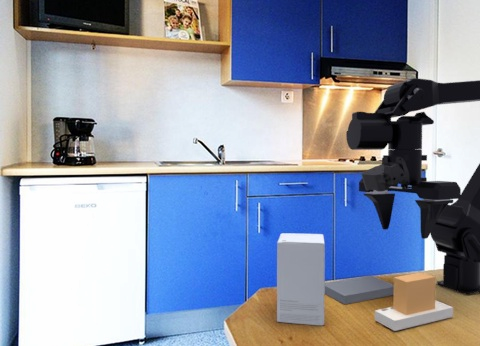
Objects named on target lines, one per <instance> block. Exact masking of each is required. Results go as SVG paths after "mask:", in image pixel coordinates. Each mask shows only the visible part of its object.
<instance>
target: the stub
mask: <svg viewBox="0 0 480 346" xmlns="http://www.w3.org/2000/svg"><path fill="white" fill-rule="evenodd" d="M436 281H437V279H436V276H434V275H432V274H428V273H425V272H416V273H411V274H405V275H399V276H395V277H394V276H393V285H394V295H393V298H392V299H393V301H392V302H393V306H389V307H386V308H380V309H376V310H374V321H376V322H378V323H379V324H381V325H383V326H385V327H386V328H389V329H391V330H392V331H394V332H395V331H400V330H404V329H409V328H413V327H416V326H421V325H425V324H429V323H433V322H436V321H442V320H445V319H450V318H453V316H454V306H450V305H448V304H445V303H443V302H441V301H438V300H437V299H436V285H437V282H436Z"/></svg>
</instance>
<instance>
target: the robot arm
mask: <svg viewBox="0 0 480 346" xmlns="http://www.w3.org/2000/svg"><path fill="white" fill-rule="evenodd" d="M473 102H475V103H476V102H480V80H466V81H454V82H452V81H451V82H437V81H434V80H432V79H426V78H425V79H424V78H418V77H417V78H416V77H415V78H413V77H412V78H409V79H406V80H403V81H400V82H398V83H395V84H391V85H390V86H388V87H387V88H386V91H385V92H384V95H383V100H382V101H381V102H380V104H379V105H378V107H377V108H376V109H375V111H374V112H367V111H366V112H365V111H356V112H352V114H351V120H350V122H349V124H348V127H347V131H346V135H345V136H346V143H347V146H348V148H349V149H350V150H352V151H353V150H354V151H357V150H359V151H361V150H363V151H367V150H368V151H369V150H370V151H373V150H374V151H376V150H378V151H380V150H381V151H383V150H384V149H386V148H387V146H388V148H387V150H388V151H387V154H386V155H382V157H381V164H379V165H376V166H374V167H371V168H369V169H367V170H365V171H363V172H362V173H361V174H360V175H361V179H360V181H358V192H361V193H362V192H363V193H362V194H363V195H364V196H363V197H367V198H368V199H369V200H370V201H371V202H372V203H373V206H374V207H375V211H376V213H377V216H378V219H379V222H380V225H381V228H382V230H384V231H385V230H388V229H389V228H390V224H391V220H392V219H391V218H392V214H393V209H394V203H395V196H396V193H394V192H399V193H410V194H416V195H417V196H418V198H419V199H414V201H415V203H416V205H417V206H418V208H419V210H420V235H421V239H428V238H429V236H430V237H431V239H432V241H433V242H434V244H435V247H436V251H438V252H440V253H444V258H443V259H444V260H443V266H442V267H443V268H442V269H443V270H442V271H443V272H442V273H443V276H442V277H443V278H442V280H439V281H437V282H436V285H438V286H441V287H444V288H446V289H449V290H452V291H455V292H457V293H460V294H463V295H472V294H477V293H480V163H478V165H477V167H476V168H475V171H474V172H473V174H472V175H471V177H470V178H469V180H468V182H467V184H466V185H465V186H464V188H463V190H462V192H461V187H460V186H459V184H458V182H457V181H447V180H445V181H444V180H431V181H430V180H427V177H424V176H423V177H422V172H423V171H422V170H423V168H422V166H423V163H422V162H425V161H428V154H423V126H429V125H433V124H434V123H435V121H434V120H433V119H432V118H431V117H430V116H428V115H427V114H426V112H425V111H420V110H424V109H427V108H428V109H429V108H432V107H434V106H439V105H448V104H461V103H462V104H463V103H473ZM417 111H420V112H417ZM412 112H416V113H415V114H414V115H408V114H409V113H412ZM392 118H397V119H396V120H392ZM399 184H400V186H399ZM454 200H456V201H454Z"/></svg>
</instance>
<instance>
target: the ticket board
mask: <svg viewBox="0 0 480 346" xmlns="http://www.w3.org/2000/svg"><path fill="white" fill-rule="evenodd" d="M325 295H326V296H329V297H330V298H332V299H334V300H335V301H337V302H339V303H341V304H343V305H349V304H355V303H360V302H364V301H369V300H375V299H380V298H385V297H389V296H394V283H391V282H388V281H385V280H383V279H381V278H378V277H376V276H374V275H364V276H358V277H353V278H346V279H341V280H340V279H339V280H335V281H328V282H325Z"/></svg>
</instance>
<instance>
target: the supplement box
mask: <svg viewBox="0 0 480 346" xmlns="http://www.w3.org/2000/svg"><path fill="white" fill-rule="evenodd" d="M276 251H277V252H276V322H278V323H285V324H295V325H297V324H298V325H312V326H324V325H325V295H326V294H325V283H326V281H325V278H326V277H325V276H326V275H325V273H326V272H325V271H326V270H325V269H326V258H325V257H326V243H325V236H324V234H322V233H293V232H292V233H289V232H288V233H287V232H286V233H280V235H279V237H278V240H277V241H276Z"/></svg>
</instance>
